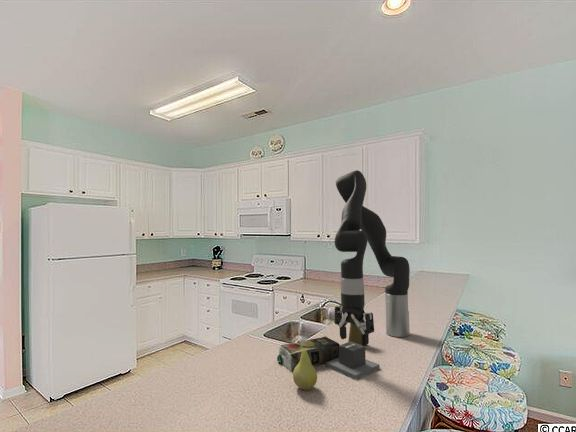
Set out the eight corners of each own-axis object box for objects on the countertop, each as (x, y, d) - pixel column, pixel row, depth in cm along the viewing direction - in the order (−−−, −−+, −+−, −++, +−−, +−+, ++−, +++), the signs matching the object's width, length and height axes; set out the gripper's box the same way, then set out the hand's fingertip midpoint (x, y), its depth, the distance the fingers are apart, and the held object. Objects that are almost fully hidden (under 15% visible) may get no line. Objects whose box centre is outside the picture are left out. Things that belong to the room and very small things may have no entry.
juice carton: (288, 372, 96) (288, 352, 96) (275, 361, 104) (275, 343, 105) (340, 361, 105) (340, 343, 105) (324, 352, 113) (324, 335, 114)
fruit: (301, 397, 81) (300, 350, 82) (287, 385, 87) (287, 342, 88) (321, 390, 84) (321, 346, 85) (307, 379, 91) (306, 338, 91)
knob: (350, 358, 103) (350, 340, 104) (365, 363, 99) (365, 345, 99) (338, 362, 99) (338, 344, 100) (353, 369, 95) (353, 349, 95)
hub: (350, 356, 107) (349, 341, 108) (379, 368, 98) (379, 351, 98) (326, 366, 100) (326, 349, 100) (355, 379, 90) (355, 361, 91)
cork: (364, 347, 117) (363, 317, 117) (348, 345, 118) (347, 316, 119) (363, 341, 123) (363, 313, 123) (348, 340, 124) (347, 312, 125)
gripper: (328, 290, 103) (329, 339, 102) (363, 296, 92) (365, 351, 91) (343, 287, 108) (344, 334, 107) (377, 293, 97) (379, 345, 96)
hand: (353, 342), depth 99 cm, fingers open, 8 cm apart
